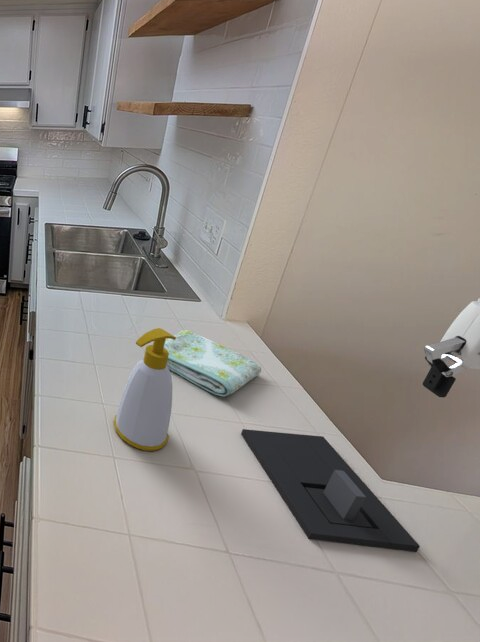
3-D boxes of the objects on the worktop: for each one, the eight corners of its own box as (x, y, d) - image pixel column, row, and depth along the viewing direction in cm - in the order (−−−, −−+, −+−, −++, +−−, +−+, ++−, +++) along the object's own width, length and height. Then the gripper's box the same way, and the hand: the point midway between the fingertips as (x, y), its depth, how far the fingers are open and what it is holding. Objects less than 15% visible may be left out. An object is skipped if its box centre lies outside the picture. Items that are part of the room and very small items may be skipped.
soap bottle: (101, 421, 88) (117, 324, 78) (138, 406, 92) (158, 312, 82) (139, 460, 79) (163, 355, 69) (179, 441, 83) (207, 340, 73)
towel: (182, 338, 118) (186, 324, 116) (260, 376, 102) (266, 361, 100) (146, 358, 109) (149, 343, 107) (225, 404, 93) (231, 387, 91)
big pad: (320, 441, 83) (323, 436, 82) (416, 552, 63) (420, 546, 62) (240, 434, 85) (242, 429, 84) (308, 539, 65) (311, 533, 64)
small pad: (341, 494, 72) (356, 468, 69) (371, 531, 66) (387, 503, 63) (303, 490, 72) (315, 464, 70) (328, 526, 66) (343, 498, 64)
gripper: (560, 292, 58) (502, 381, 65) (430, 287, 60) (387, 374, 67) (632, 318, 51) (559, 415, 58) (482, 311, 53) (428, 406, 60)
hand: (467, 393), depth 62 cm, fingers open, 9 cm apart
